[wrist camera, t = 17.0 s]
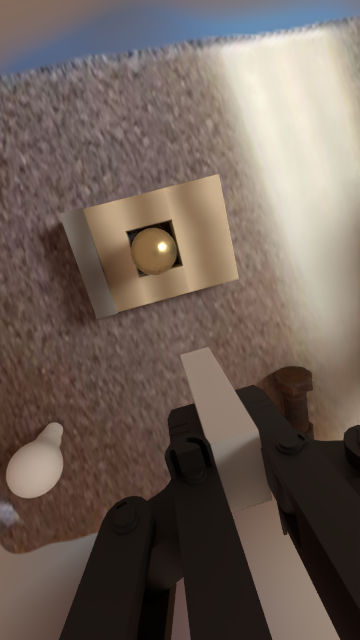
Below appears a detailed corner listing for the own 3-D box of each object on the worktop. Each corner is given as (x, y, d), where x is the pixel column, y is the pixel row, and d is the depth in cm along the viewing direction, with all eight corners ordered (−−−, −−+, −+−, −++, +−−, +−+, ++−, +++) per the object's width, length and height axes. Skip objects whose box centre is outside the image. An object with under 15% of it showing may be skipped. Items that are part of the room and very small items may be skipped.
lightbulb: (76, 444, 42) (54, 511, 32) (34, 443, 42) (-4, 511, 31) (78, 409, 41) (54, 467, 30) (33, 407, 40) (-6, 466, 29)
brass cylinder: (163, 227, 35) (169, 221, 25) (173, 259, 37) (182, 267, 26) (132, 237, 35) (124, 235, 25) (142, 269, 37) (139, 280, 26)
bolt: (285, 437, 49) (276, 364, 44) (316, 441, 47) (310, 364, 42) (283, 465, 44) (273, 385, 40) (318, 470, 42) (312, 387, 37)
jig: (210, 181, 35) (220, 172, 30) (229, 275, 38) (240, 279, 34) (69, 218, 34) (57, 214, 29) (101, 310, 37) (95, 319, 33)
